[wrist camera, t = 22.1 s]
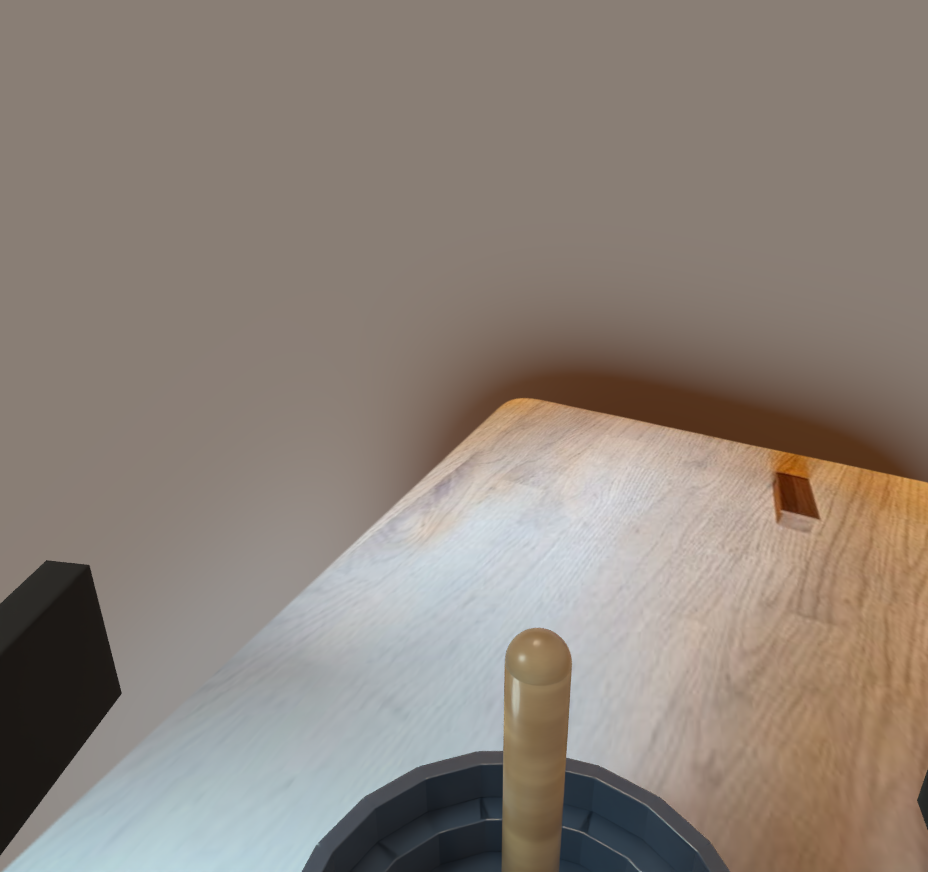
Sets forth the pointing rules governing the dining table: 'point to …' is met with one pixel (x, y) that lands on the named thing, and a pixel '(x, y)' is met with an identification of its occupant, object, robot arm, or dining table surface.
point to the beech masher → (534, 750)
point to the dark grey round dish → (480, 824)
